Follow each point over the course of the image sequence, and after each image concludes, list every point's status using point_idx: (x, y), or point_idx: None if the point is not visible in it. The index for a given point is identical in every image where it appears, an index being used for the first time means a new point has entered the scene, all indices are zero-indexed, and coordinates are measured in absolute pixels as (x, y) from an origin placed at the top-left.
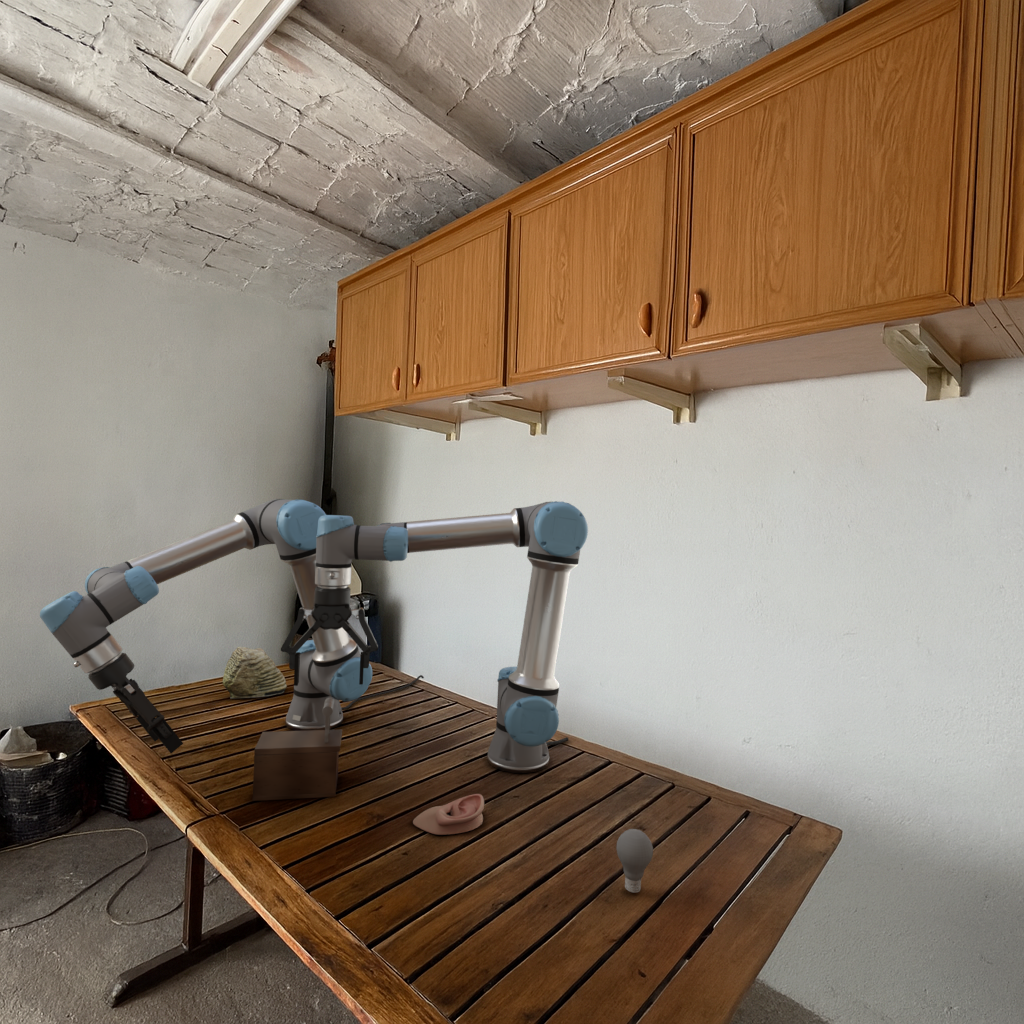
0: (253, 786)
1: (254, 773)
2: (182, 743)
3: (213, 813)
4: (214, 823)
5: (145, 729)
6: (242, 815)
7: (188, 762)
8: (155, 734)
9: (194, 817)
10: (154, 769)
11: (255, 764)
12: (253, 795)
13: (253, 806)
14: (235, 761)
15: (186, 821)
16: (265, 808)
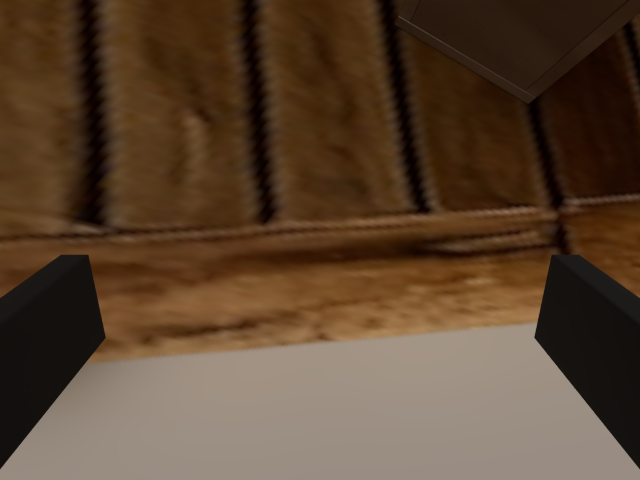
0: (561, 76)
1: (598, 44)
2: (582, 261)
3: (548, 226)
4: (612, 244)
5: (36, 423)
6: (601, 162)
7: (46, 162)
8: (77, 334)
9: None
10: None
11: (630, 16)
12: (539, 93)
13: (561, 116)
14: (168, 21)
15: None
16: (590, 95)
